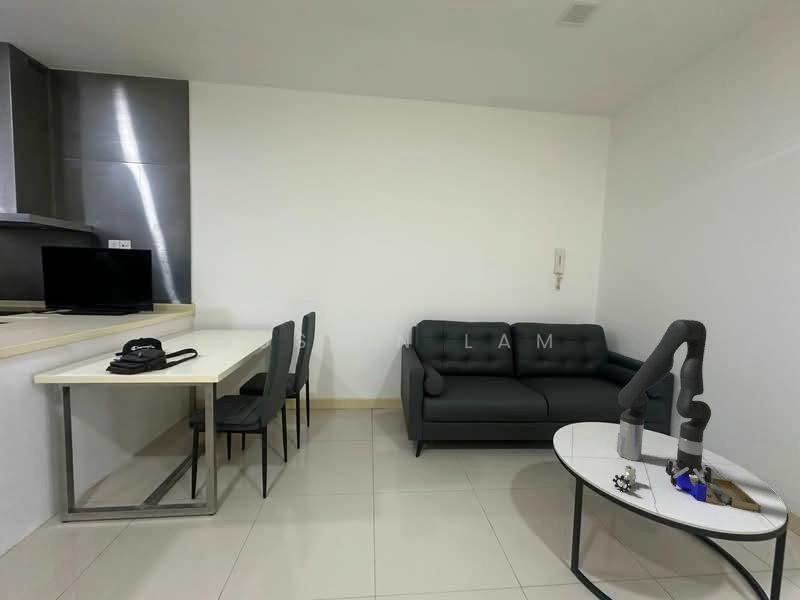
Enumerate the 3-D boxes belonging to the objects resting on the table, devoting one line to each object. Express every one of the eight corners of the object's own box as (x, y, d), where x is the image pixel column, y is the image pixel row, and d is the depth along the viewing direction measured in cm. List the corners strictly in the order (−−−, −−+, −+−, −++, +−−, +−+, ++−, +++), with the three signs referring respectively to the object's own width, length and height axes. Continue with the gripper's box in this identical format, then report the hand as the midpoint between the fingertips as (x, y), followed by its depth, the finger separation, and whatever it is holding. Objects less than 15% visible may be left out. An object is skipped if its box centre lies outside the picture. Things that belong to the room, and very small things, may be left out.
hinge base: (705, 501, 129) (706, 493, 128) (684, 477, 145) (684, 470, 145) (760, 512, 123) (761, 503, 123) (731, 486, 140) (732, 478, 139)
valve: (622, 477, 144) (611, 487, 136) (623, 462, 143) (612, 472, 136) (640, 485, 138) (630, 496, 131) (641, 469, 138) (631, 480, 131)
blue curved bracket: (673, 482, 141) (674, 468, 141) (685, 483, 141) (687, 470, 140) (692, 500, 130) (693, 485, 129) (705, 502, 129) (706, 487, 128)
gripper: (673, 450, 133) (669, 489, 134) (717, 457, 128) (713, 497, 129) (664, 441, 140) (661, 479, 141) (706, 448, 135) (703, 486, 136)
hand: (686, 488), depth 135 cm, fingers open, 8 cm apart
